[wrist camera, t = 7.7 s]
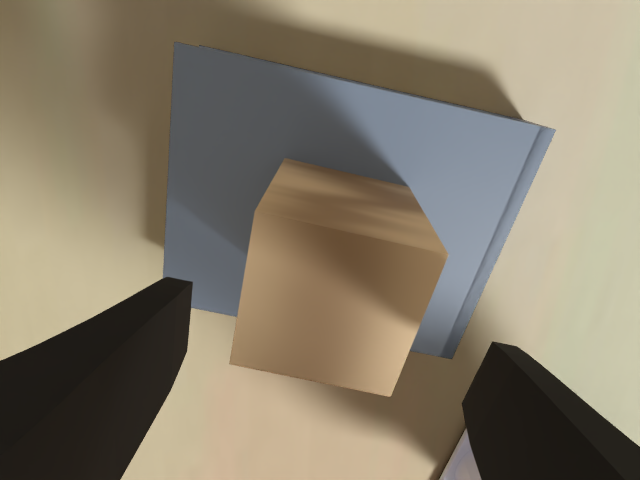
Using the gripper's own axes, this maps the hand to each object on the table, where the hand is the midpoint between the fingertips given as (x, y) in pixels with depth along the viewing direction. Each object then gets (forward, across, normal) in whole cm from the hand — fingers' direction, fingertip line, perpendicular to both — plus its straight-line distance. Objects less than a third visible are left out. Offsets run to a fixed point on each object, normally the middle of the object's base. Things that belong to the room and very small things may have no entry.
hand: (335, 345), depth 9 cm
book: (+10, 0, 0) cm, 10 cm away
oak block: (+8, 0, 0) cm, 8 cm away
